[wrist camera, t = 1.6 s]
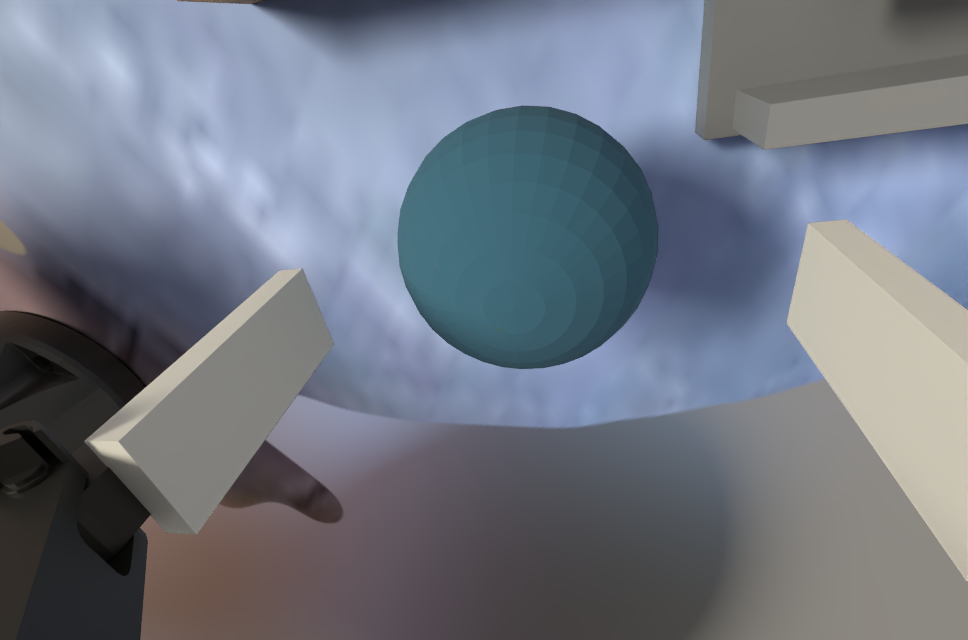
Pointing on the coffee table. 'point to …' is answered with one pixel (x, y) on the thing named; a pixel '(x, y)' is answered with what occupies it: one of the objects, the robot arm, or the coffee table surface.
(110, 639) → the robot arm
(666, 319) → the coffee table surface
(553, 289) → the light bulb
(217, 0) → the tray
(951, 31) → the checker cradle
